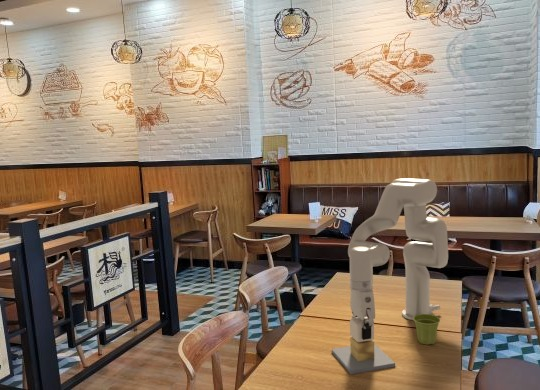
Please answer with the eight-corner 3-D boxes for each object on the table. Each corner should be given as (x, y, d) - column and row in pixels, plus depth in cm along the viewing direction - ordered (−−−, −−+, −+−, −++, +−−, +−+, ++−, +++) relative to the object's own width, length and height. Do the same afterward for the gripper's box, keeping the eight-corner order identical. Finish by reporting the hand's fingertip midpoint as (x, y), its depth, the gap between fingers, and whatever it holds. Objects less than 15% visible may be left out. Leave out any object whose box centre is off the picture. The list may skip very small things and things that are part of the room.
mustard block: (366, 350, 162) (366, 334, 162) (374, 358, 157) (374, 341, 156) (350, 353, 161) (350, 336, 160) (358, 361, 155) (357, 344, 154)
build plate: (372, 345, 169) (372, 342, 168) (395, 366, 153) (395, 363, 153) (331, 352, 165) (331, 349, 165) (350, 374, 149) (350, 370, 149)
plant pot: (409, 343, 169) (409, 320, 168) (417, 333, 177) (417, 312, 176) (436, 349, 164) (436, 325, 163) (442, 339, 172) (443, 316, 171)
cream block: (366, 332, 162) (366, 315, 161) (374, 339, 156) (373, 322, 155) (350, 334, 160) (349, 318, 159) (357, 342, 154) (357, 325, 154)
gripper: (383, 290, 148) (384, 343, 150) (360, 275, 165) (361, 323, 167) (362, 293, 146) (363, 347, 149) (340, 277, 163) (341, 326, 165)
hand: (362, 334), depth 158 cm, fingers open, 6 cm apart
